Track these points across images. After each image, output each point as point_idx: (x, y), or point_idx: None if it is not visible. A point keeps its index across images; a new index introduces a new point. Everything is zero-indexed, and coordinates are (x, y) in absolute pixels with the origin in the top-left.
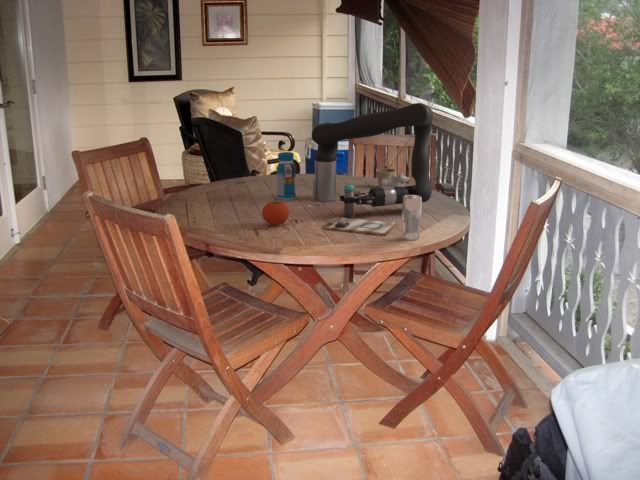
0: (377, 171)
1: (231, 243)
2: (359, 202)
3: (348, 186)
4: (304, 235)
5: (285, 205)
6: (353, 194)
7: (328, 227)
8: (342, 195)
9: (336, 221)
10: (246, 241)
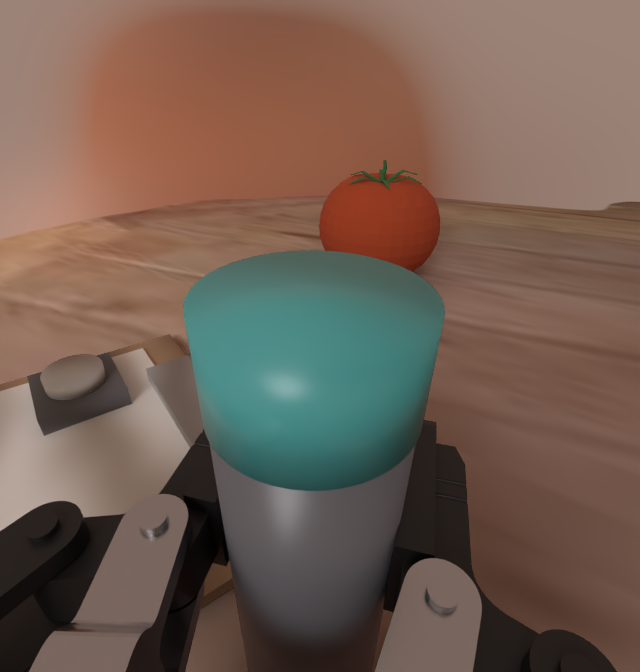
0: None
1: (263, 205)
2: (37, 599)
3: (248, 266)
4: (170, 281)
5: (355, 198)
6: (232, 515)
7: (150, 351)
8: (431, 443)
9: (160, 392)
10: (253, 215)
